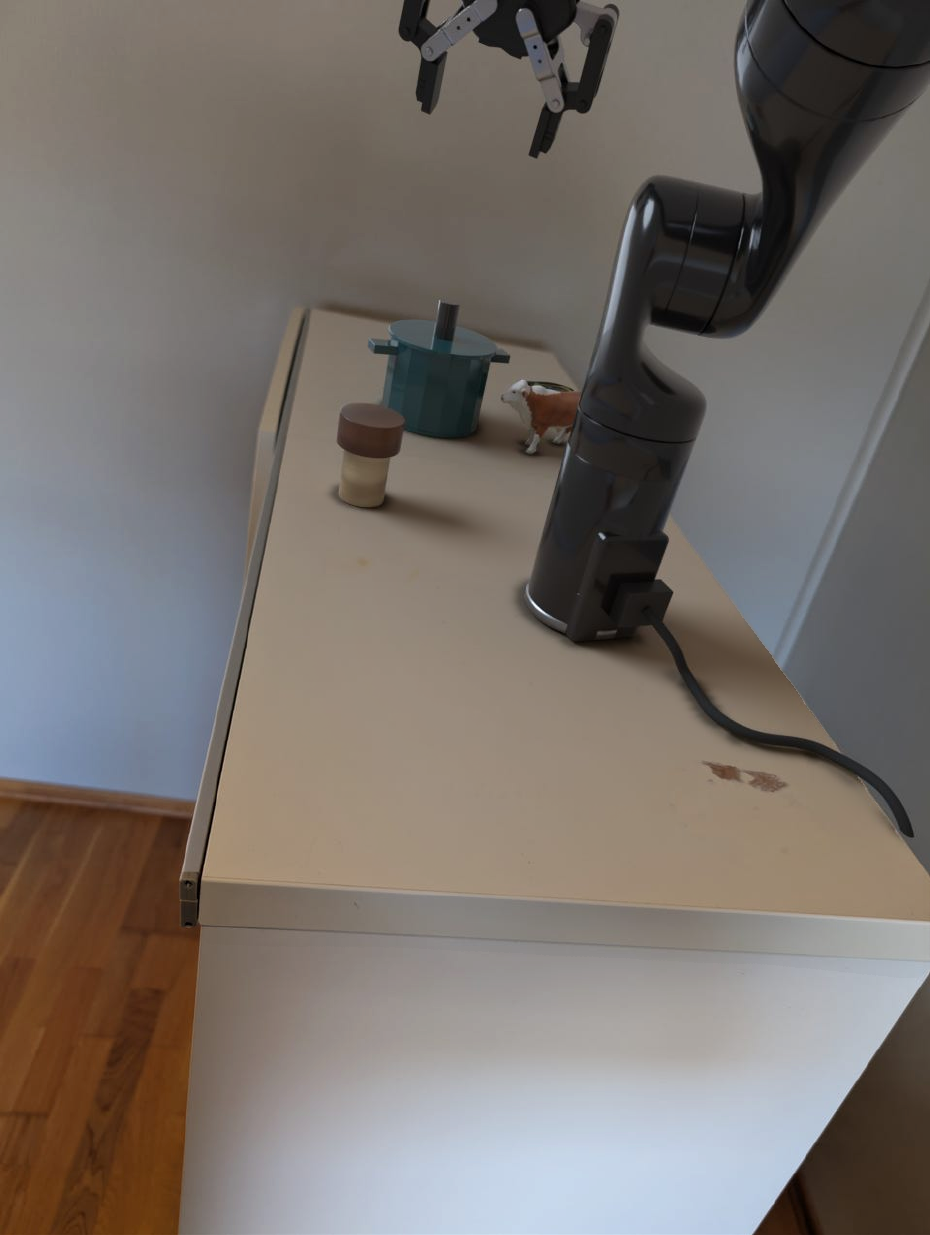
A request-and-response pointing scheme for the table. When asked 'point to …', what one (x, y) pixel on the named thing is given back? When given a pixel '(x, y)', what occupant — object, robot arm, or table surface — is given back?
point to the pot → (434, 388)
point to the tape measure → (550, 386)
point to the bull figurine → (542, 410)
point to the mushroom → (367, 451)
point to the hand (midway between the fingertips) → (482, 130)
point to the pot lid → (443, 335)
